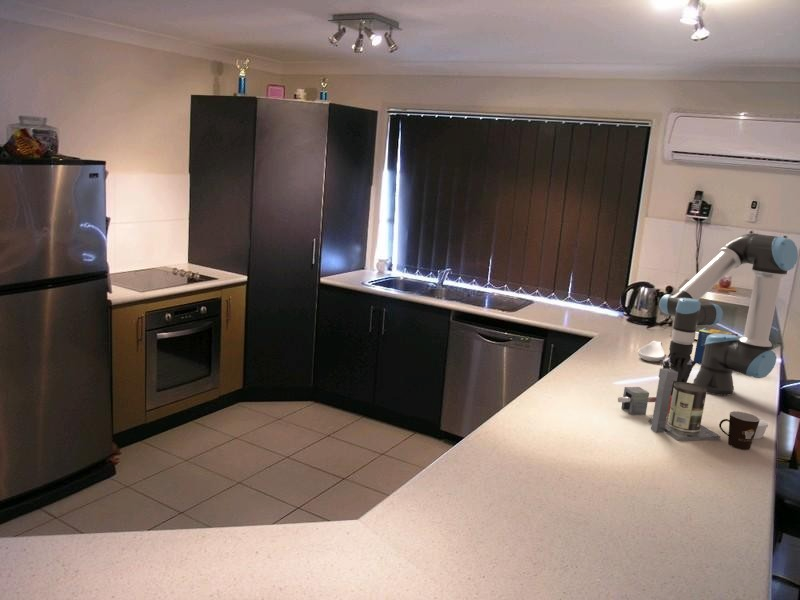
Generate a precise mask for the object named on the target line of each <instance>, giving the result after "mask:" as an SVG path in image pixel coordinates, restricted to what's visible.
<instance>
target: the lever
mask: <svg viewBox="0 0 800 600" xmlns="http://www.w3.org/2000/svg"><path fill="white" fill-rule="evenodd" d="M672 395H673V394H671V396H670V401H669V407H668V413H667V415H669V413H670V407H671V401H672ZM655 401H656V396H649V398H648V403H655ZM617 402H618V403H622V402H631V397H623V396H622V397H621V396H620V397H619V396H618V397H617Z"/></svg>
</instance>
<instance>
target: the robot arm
mask: <svg viewBox="0 0 800 600" xmlns="http://www.w3.org/2000/svg"><path fill="white" fill-rule="evenodd" d="M798 258H799V250H798V247H797V245H796V243H795V242H794V241H793V240H792V239H790V238H787V237H782V236H776V235H775V236H774V235H766V234H760V233H752V232H751V233H746V234H743V235H739V236H737V237H734V239H732V240H730V241H728V242H726V243H725V244H724V245H723V246H722V247H721V248H720V249H718V251H717V253H716V256H715V257H713V258H712V260H710V261H709V262H708V263H707V264H706V265H705V266H704V267H702V268H701V270H700V271H698V272H697V273H696V274H695V275H694V276H693V277H692V278H691V279H689V281H687V282H686V283H684V285H683V286H681V287H680V289H679V290H678V291H677V292H675V293H674V294H668V293H667V294H664V295H663V296H661V298H660V300H659V302H658V305H659V310H660V311H661V313H663V314H665V315H669V316H670V317H674V321H673V326H672V332H671V341H670V342H669V354H668V355H667V358H665V359H664V358H663V359H661V360H660V362H661V364H662V368H667V369H672V370H675V371H677V372H678V377H677V381H673V385H672V391H671V394H673V389H674V383H676V382H687V383H688V380H689V378H690V375H691V372H692V370H693V368H694V367H695V365H696V364H697V363H696V362H695V361H694V359H693V360H692V357H691V354H692V353H693V349H694V343H695V338H696V332H697V326H712V325H716V324H719V323H720V322H721V320H722V319H723V316H724V311H723V309H722V307H721V306H720V305H718V304H717V303H716V304H715V303H710V302H709V303H704V302H701V301H700V299H702V297H704V296H705V295H706V294H707V293H708V292H709V291H710V290H711V289H712V288H714V286H716V285H717V284H718V283H719V281H721V280H722V279H724V277H726V275H727V274H729V273H730V272H731V271H732V270H734V269H737V268H739V267H740V266H741V265H744V264H749V265H750V264H751V265H752V268H751V270H752V271H751V272H753V273H754V275H755V276H754V282H753V285H752V286H753V287H752V290H751V291H752V292H751V295H750V296H751V297H750V302H749V307H748V310H747V311H748V312H747V317H746V322H745V327H744V330H743V331H744V332H743V335H742V336H741V337H739V335H738V336H734V335H727V334H710V335H708V336H707V338H706V342H705V344H704V345H705V346H704V352H703V358H702V364H700V368H699V371H698V372H697V374H696V376H695V378H694V379H693V384H697V385H700V386H703V387H704V388H706V389H707V393H706V394H712V395H719V396H731V395H733V394H734V390H735V387H734V379H733V371H734V372H736V373H739V374H743V375H746V376H747V377H750V378H751V377H752V378H755V379H764V378H766V377H768V375H770V373H771V372H772V371H773V369H774V368H775V365H776V363H777V354H776V352H775V351H773V350H772V348H773V344H772V343H771V341H770V340H769V339H770V334H771V329H772V325H773V320H774V315H775V309H776V305H777V300H778V294H779V291H780V285H781V282H782V278H783V277H785V276H787V274H788V271H791V270H792V269H793V268H795V265H797V262H798Z"/></svg>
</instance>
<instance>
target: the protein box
mask: <svg viewBox="0 0 800 600" xmlns="http://www.w3.org/2000/svg"><path fill="white" fill-rule="evenodd" d="M710 334H727V335H734V336H738V337H739V334H738V333H735V332H728V331H725V330H724V331H723V330H719V329H714V328H709V327H702V328H700V329H699V330H698V335H697V341H696V345H695V350H694V351H695V352H694V356H693V361H695V362H696V364H699V363H700V364H699V365H701V364H702V358H703V352H704V346H705V345H704V344H705V342H706V338H707V336H708V335H710Z"/></svg>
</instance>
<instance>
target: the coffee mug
mask: <svg viewBox="0 0 800 600" xmlns="http://www.w3.org/2000/svg"><path fill="white" fill-rule="evenodd" d="M759 418H760V417H758V416H757V415H754V414H753V413H748V412H745V411H744V412H743V411H736V410H735V411H730V412H729V419H728V418H724V419H722V420H721V421H720V422H719V424H718V427H719V428H720V429H719V430H721V432H722V433H724V434H725V435H726V436H727V437H728V438H727V441H728V442H727V444H728V445H729V446H730V447H732V448H735V449H738V450H743V451H748V450H750V449H751V447H752V444H753V440H754V439H753V438H754V435H755V433H756V430H757V427H758V424H759V421H760V419H761V418H760V419H759ZM724 422H728V423H729V424H728V433H727V432H726V431H725V430H724V429H723V427H722V424H723V423H724Z"/></svg>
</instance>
